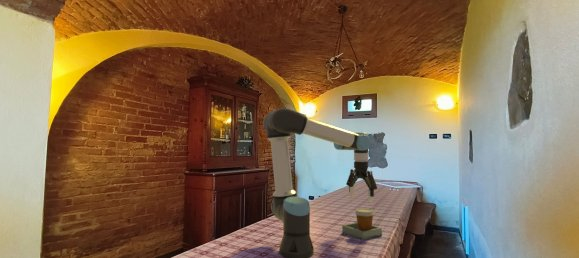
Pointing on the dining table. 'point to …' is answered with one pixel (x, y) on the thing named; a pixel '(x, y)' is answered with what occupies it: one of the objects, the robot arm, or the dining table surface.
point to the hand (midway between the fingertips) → (360, 200)
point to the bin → (363, 235)
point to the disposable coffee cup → (364, 219)
